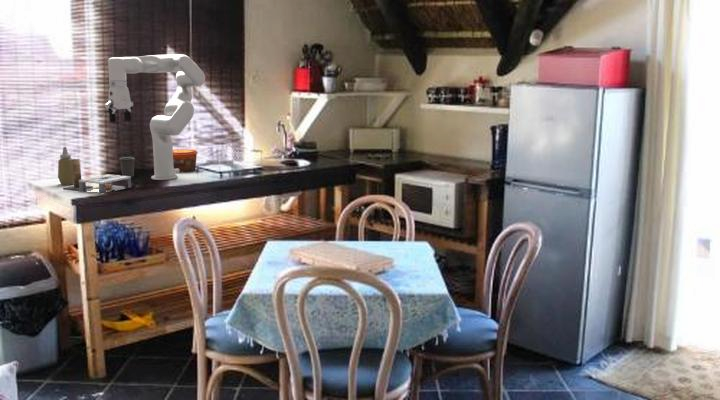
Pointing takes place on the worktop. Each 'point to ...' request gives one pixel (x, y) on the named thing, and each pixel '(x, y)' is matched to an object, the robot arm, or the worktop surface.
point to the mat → (76, 188)
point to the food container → (184, 160)
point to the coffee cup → (127, 166)
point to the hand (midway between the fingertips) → (120, 121)
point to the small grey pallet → (105, 182)
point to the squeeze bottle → (65, 168)
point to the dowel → (76, 172)
